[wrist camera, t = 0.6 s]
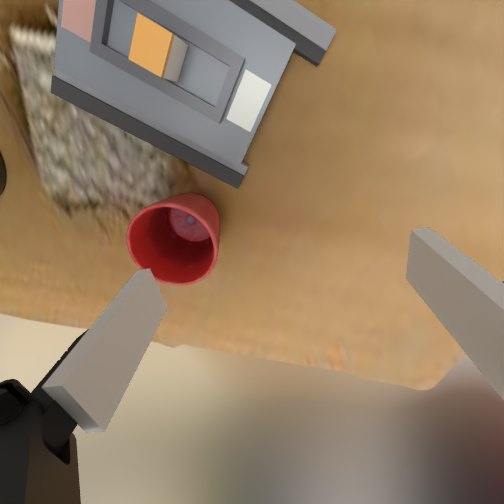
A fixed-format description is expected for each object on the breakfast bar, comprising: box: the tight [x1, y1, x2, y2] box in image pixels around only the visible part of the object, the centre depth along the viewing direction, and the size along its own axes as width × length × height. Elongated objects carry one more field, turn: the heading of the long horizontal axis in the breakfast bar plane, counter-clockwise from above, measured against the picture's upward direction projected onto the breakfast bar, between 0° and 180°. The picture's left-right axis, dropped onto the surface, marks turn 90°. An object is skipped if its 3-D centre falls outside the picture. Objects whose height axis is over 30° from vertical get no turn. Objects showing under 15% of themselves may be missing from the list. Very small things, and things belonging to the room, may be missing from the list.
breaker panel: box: [54, 0, 296, 166], centre depth 27 cm, size 22×13×4 cm, turn 63°
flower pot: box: [127, 193, 220, 285], centre depth 34 cm, size 11×11×10 cm
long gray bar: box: [51, 69, 249, 189], centre depth 31 cm, size 24×3×2 cm, turn 63°
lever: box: [129, 13, 188, 82], centre depth 24 cm, size 3×3×5 cm
